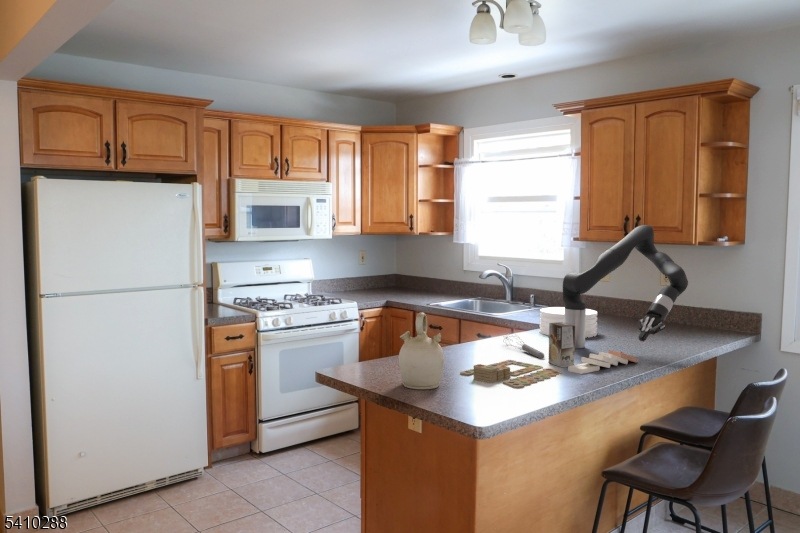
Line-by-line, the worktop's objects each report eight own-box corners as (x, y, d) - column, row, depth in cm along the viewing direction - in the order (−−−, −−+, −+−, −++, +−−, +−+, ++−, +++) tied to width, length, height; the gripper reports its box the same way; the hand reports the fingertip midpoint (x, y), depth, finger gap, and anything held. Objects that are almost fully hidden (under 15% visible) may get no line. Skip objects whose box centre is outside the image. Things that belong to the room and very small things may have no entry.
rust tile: (636, 362, 255) (620, 357, 249) (623, 360, 260) (607, 354, 254) (637, 358, 255) (621, 352, 249) (624, 355, 260) (609, 350, 254)
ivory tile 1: (627, 364, 252) (611, 358, 246) (614, 361, 257) (598, 356, 250) (628, 359, 252) (612, 354, 246) (615, 357, 257) (599, 351, 251)
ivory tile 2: (617, 365, 249) (602, 360, 242) (603, 363, 253) (588, 357, 246) (618, 361, 249) (603, 355, 242) (604, 358, 254) (590, 353, 246)
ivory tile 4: (599, 370, 242) (580, 374, 235) (586, 367, 247) (567, 370, 240) (599, 365, 242) (581, 369, 235) (586, 362, 247) (568, 366, 240)
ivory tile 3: (609, 368, 245) (594, 364, 238) (595, 365, 250) (580, 361, 242) (610, 363, 245) (595, 359, 238) (596, 360, 250) (581, 356, 242)
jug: (389, 386, 214) (390, 313, 212) (414, 377, 227) (415, 308, 225) (428, 394, 206) (429, 317, 204) (452, 384, 219) (453, 311, 217)
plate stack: (588, 340, 303) (588, 316, 303) (531, 334, 318) (532, 311, 317) (602, 332, 327) (603, 309, 326) (549, 326, 342) (550, 305, 341)
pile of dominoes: (517, 391, 213) (518, 374, 212) (454, 376, 231) (454, 361, 231) (569, 373, 238) (570, 359, 237) (508, 362, 256) (509, 348, 256)
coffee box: (575, 366, 248) (576, 325, 246) (561, 367, 245) (562, 326, 244) (561, 361, 256) (562, 321, 255) (547, 362, 254) (548, 322, 253)
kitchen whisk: (538, 360, 258) (538, 345, 258) (500, 345, 290) (500, 331, 290) (551, 360, 260) (551, 344, 259) (512, 345, 292) (512, 331, 291)
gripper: (678, 316, 262) (659, 348, 257) (649, 311, 273) (630, 343, 268) (671, 304, 259) (651, 336, 253) (642, 300, 270) (623, 331, 264)
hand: (640, 340), depth 260 cm, fingers closed
